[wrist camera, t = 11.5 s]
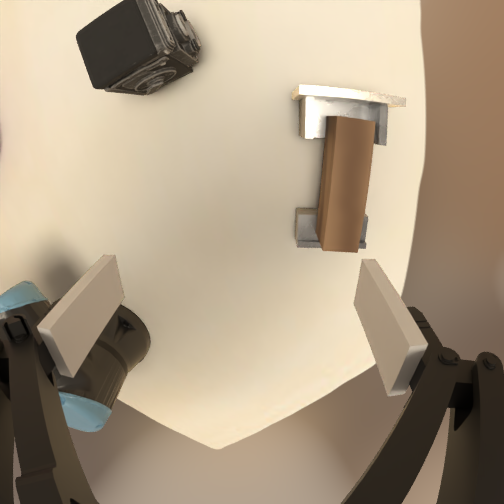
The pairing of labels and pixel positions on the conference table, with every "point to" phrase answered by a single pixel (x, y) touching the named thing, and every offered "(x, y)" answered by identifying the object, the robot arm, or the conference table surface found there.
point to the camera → (138, 47)
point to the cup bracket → (342, 109)
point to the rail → (344, 182)
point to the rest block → (307, 229)
